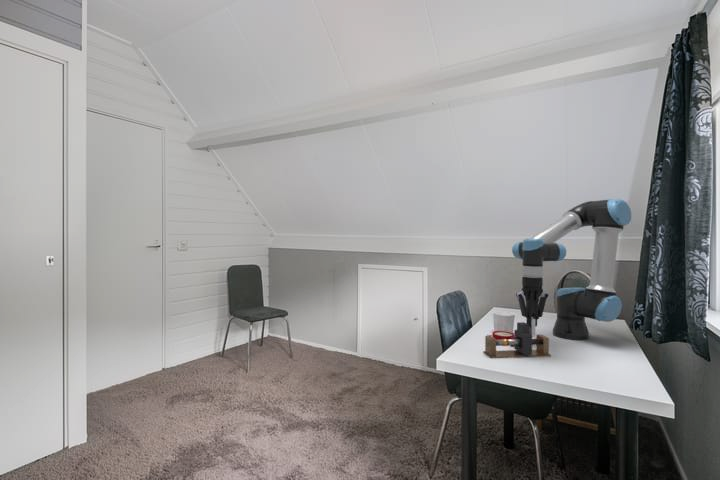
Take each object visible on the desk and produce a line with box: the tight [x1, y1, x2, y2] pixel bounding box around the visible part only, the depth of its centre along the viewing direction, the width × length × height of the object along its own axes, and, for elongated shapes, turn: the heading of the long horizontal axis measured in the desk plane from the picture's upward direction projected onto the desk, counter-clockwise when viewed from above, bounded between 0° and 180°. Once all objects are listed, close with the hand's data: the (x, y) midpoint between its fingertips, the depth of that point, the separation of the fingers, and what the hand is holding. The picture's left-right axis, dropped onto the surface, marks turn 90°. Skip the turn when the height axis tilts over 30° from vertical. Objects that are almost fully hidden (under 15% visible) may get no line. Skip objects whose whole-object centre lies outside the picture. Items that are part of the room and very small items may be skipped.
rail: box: [483, 333, 552, 359], centre depth 150 cm, size 25×7×7 cm, turn 95°
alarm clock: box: [486, 330, 514, 347], centre depth 166 cm, size 10×6×15 cm
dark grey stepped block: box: [513, 321, 533, 355], centre depth 150 cm, size 3×8×12 cm, turn 5°
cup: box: [492, 310, 516, 334], centre depth 182 cm, size 10×10×10 cm
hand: (531, 334), depth 150 cm, fingers closed
